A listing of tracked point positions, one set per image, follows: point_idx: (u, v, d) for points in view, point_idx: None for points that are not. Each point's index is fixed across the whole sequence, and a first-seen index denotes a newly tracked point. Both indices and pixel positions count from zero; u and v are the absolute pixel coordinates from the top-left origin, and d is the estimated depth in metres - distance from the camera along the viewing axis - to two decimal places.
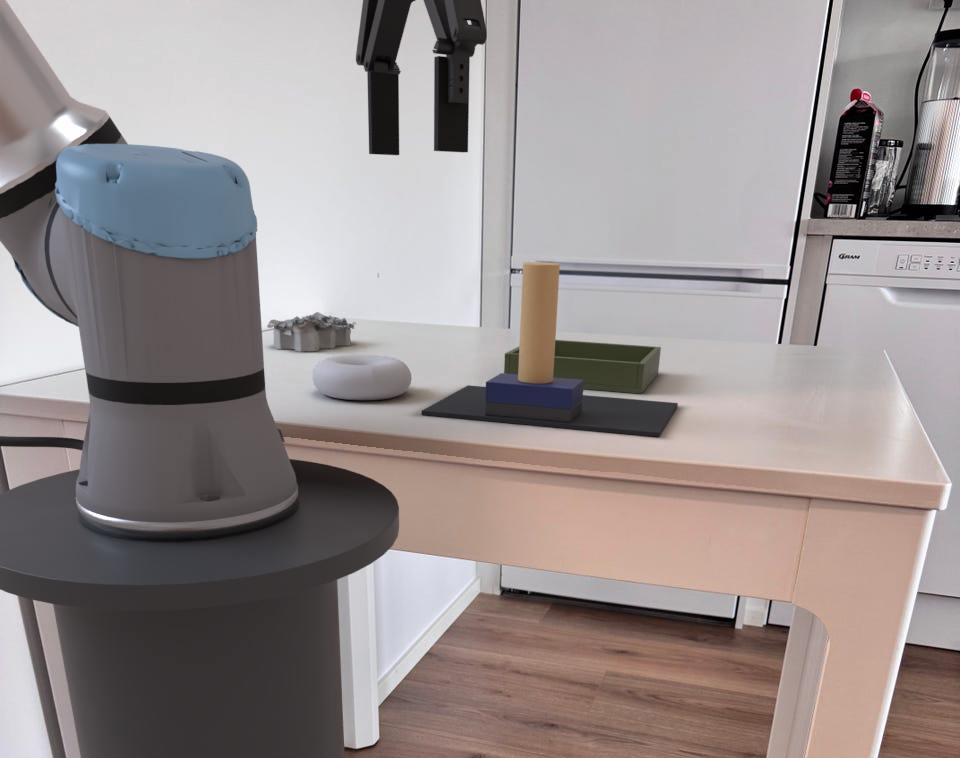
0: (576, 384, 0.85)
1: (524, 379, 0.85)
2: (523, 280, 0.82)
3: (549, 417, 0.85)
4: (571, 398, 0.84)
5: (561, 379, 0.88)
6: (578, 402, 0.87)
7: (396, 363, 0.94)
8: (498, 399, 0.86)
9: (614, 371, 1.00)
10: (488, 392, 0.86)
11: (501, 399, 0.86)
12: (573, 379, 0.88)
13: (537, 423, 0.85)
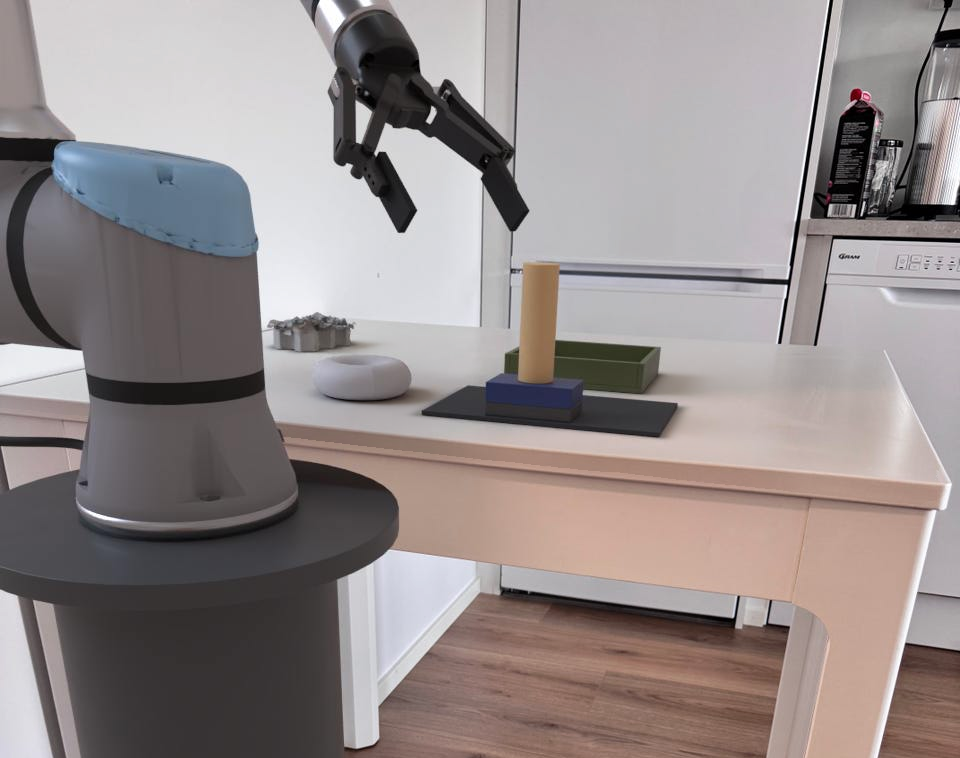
0: (576, 384, 0.85)
1: (524, 379, 0.85)
2: (523, 280, 0.82)
3: (549, 417, 0.85)
4: (571, 398, 0.84)
5: (561, 379, 0.88)
6: (578, 402, 0.87)
7: (396, 363, 0.94)
8: (498, 399, 0.86)
9: (614, 371, 1.00)
10: (488, 392, 0.86)
11: (501, 399, 0.86)
12: (573, 379, 0.88)
13: (537, 423, 0.85)
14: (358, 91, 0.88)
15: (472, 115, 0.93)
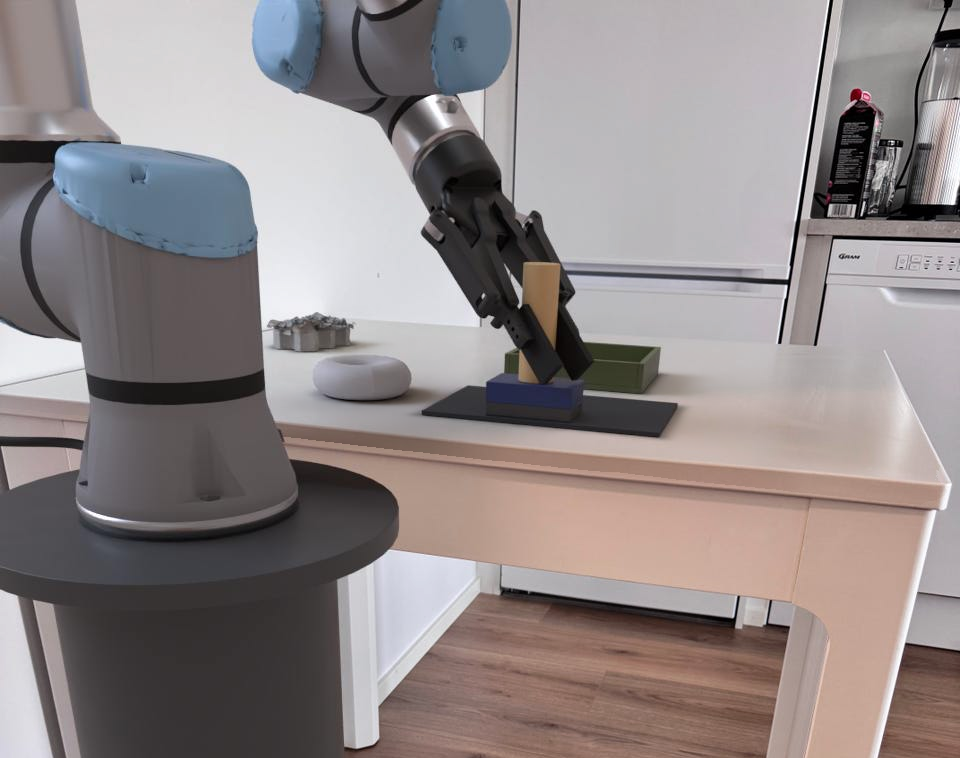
0: (576, 384, 0.85)
1: (524, 379, 0.85)
2: (524, 280, 0.82)
3: (549, 417, 0.85)
4: (571, 398, 0.84)
5: (561, 379, 0.88)
6: (578, 402, 0.87)
7: (396, 363, 0.94)
8: (498, 399, 0.86)
9: (614, 371, 1.00)
10: (488, 392, 0.86)
11: (501, 399, 0.86)
12: None
13: (537, 423, 0.85)
14: None
15: (544, 247, 0.87)
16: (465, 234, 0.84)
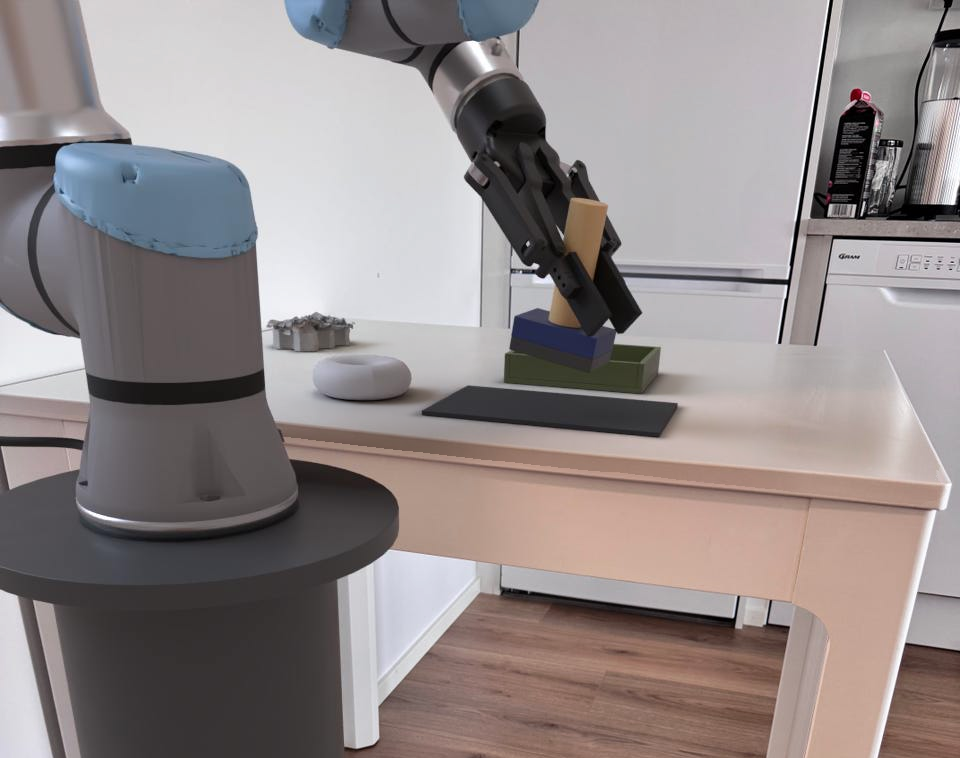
0: (605, 334, 0.83)
1: (553, 320, 0.83)
2: (568, 217, 0.80)
3: (570, 363, 0.83)
4: (594, 348, 0.82)
5: None
6: (605, 352, 0.85)
7: (396, 363, 0.94)
8: (524, 336, 0.84)
9: (614, 371, 1.00)
10: (515, 327, 0.84)
11: (526, 336, 0.84)
12: (606, 327, 0.85)
13: (537, 423, 0.85)
14: None
15: (589, 197, 0.85)
16: (509, 180, 0.81)
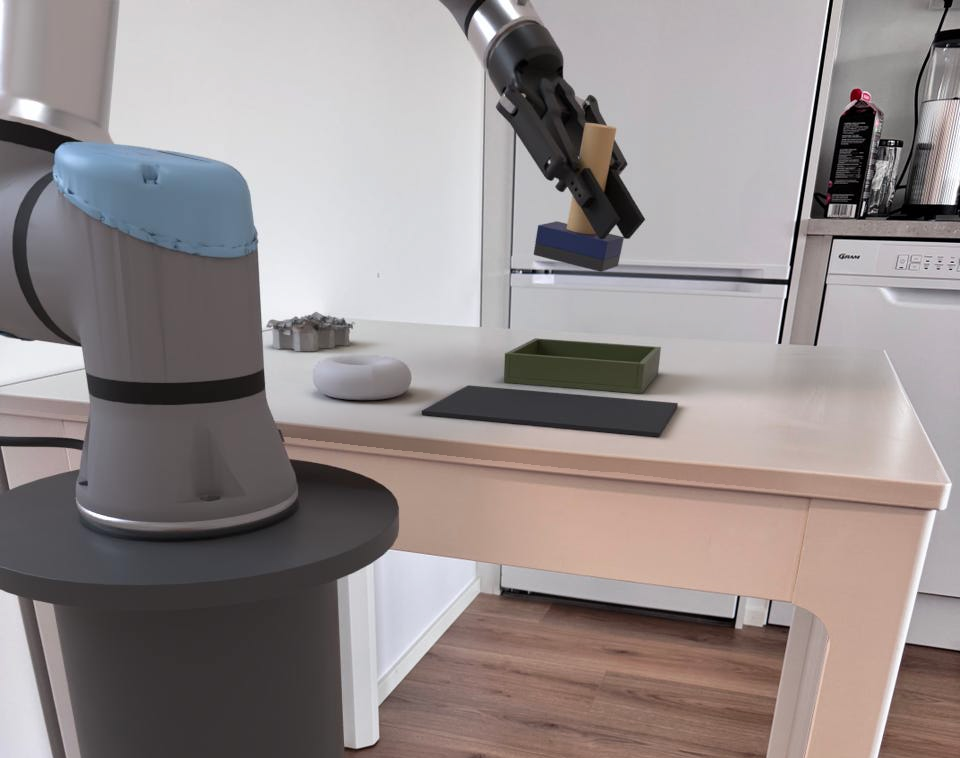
0: (614, 239, 0.99)
1: (570, 228, 1.00)
2: (582, 138, 0.96)
3: (585, 264, 1.00)
4: (605, 250, 0.98)
5: None
6: (614, 256, 1.01)
7: (396, 363, 0.94)
8: (546, 242, 1.00)
9: (614, 371, 1.00)
10: (538, 235, 1.00)
11: (548, 242, 1.00)
12: (615, 235, 1.01)
13: (537, 423, 0.85)
14: None
15: None
16: (533, 110, 0.98)
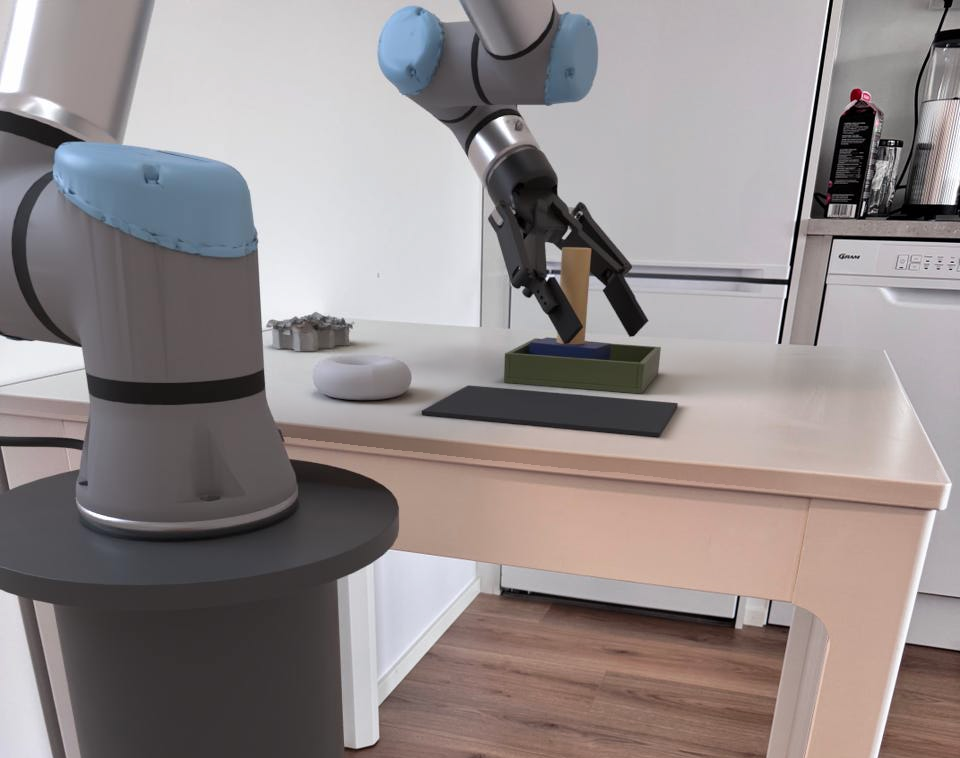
0: (601, 346, 1.06)
1: (560, 341, 1.07)
2: (561, 261, 1.04)
3: None
4: (595, 356, 1.05)
5: (592, 342, 1.09)
6: None
7: (396, 363, 0.94)
8: None
9: (614, 371, 1.00)
10: (531, 350, 1.08)
11: None
12: None
13: (537, 423, 0.85)
14: None
15: (598, 234, 1.09)
16: (529, 229, 1.04)
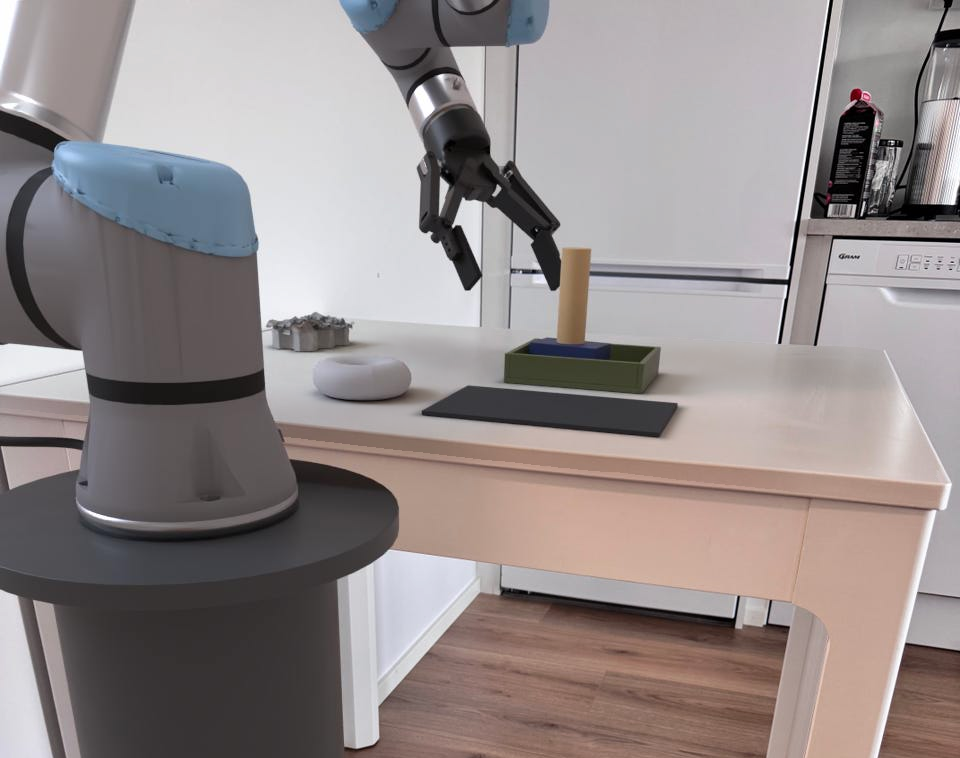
0: (601, 346, 1.06)
1: (560, 341, 1.07)
2: (561, 261, 1.04)
3: None
4: (595, 356, 1.05)
5: (592, 342, 1.09)
6: None
7: (396, 363, 0.94)
8: None
9: (614, 371, 1.00)
10: (531, 350, 1.08)
11: None
12: None
13: (537, 423, 0.85)
14: (441, 170, 1.09)
15: (528, 193, 1.15)
16: None
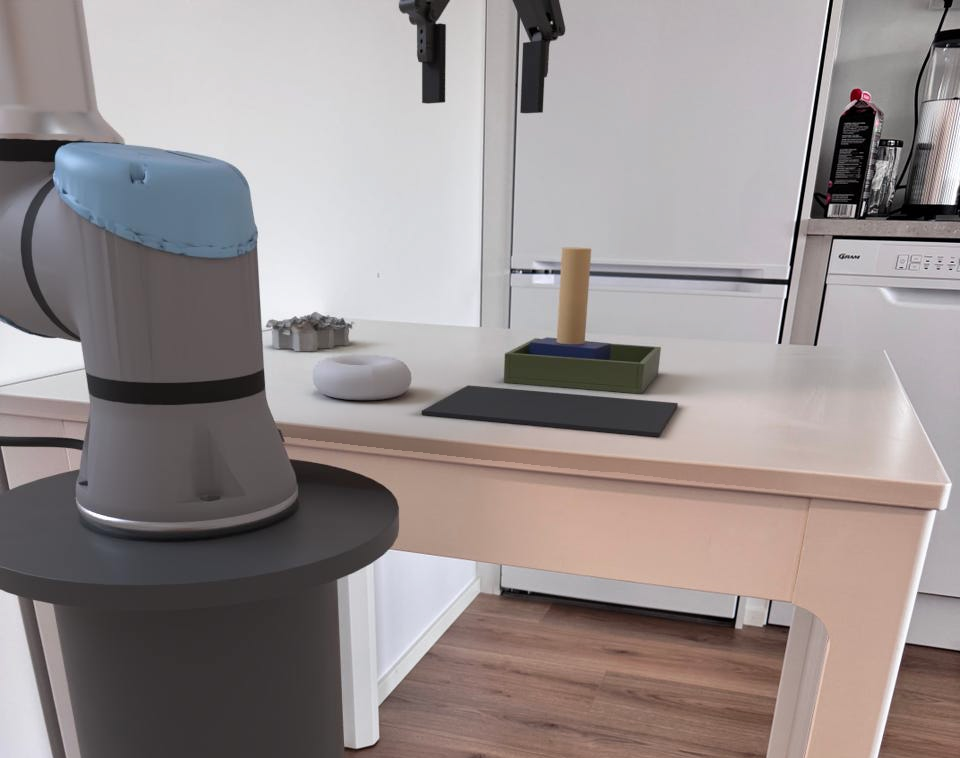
0: (601, 346, 1.06)
1: (560, 341, 1.07)
2: (561, 261, 1.04)
3: None
4: (595, 356, 1.05)
5: (592, 342, 1.09)
6: None
7: (396, 363, 0.94)
8: None
9: (614, 371, 1.00)
10: (531, 350, 1.08)
11: None
12: None
13: (537, 423, 0.85)
14: None
15: None
16: None
